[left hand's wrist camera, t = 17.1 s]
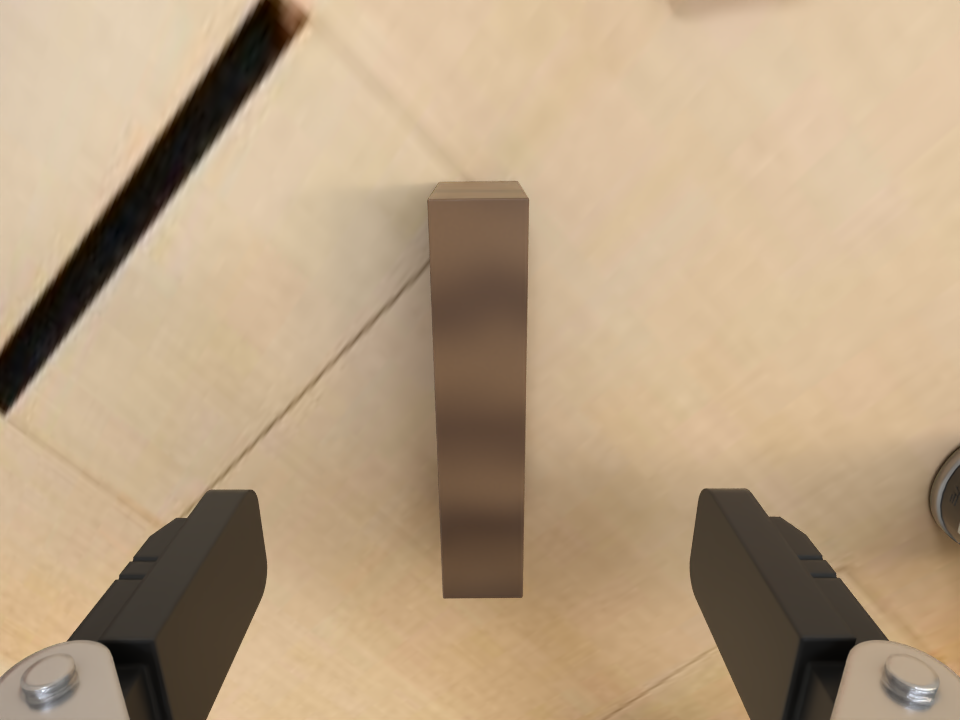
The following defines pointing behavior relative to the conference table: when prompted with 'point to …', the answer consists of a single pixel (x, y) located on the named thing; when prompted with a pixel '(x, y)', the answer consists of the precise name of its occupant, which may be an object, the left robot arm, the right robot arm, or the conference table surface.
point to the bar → (480, 382)
